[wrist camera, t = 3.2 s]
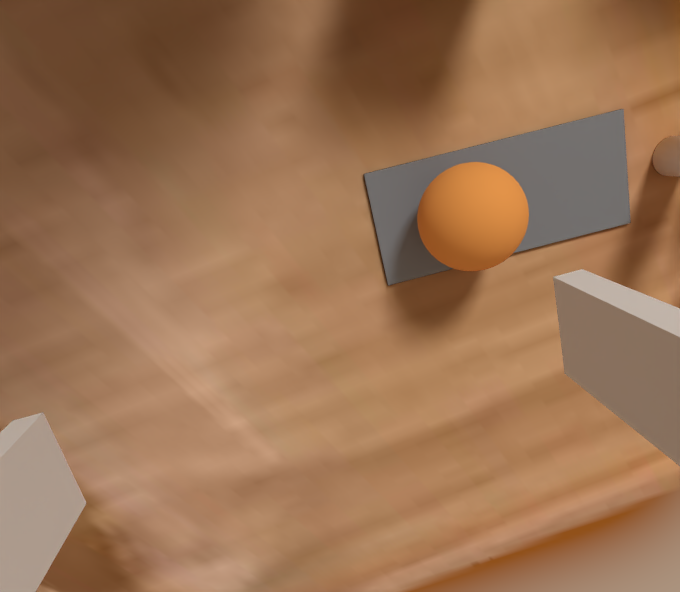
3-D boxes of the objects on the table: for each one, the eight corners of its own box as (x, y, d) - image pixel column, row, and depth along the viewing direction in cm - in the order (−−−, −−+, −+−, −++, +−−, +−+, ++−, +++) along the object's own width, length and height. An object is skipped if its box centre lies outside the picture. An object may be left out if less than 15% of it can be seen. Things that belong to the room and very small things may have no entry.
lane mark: (387, 284, 32) (388, 285, 32) (363, 174, 30) (364, 174, 30) (628, 222, 32) (630, 222, 32) (621, 109, 30) (623, 108, 30)
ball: (416, 269, 32) (444, 295, 26) (397, 174, 30) (424, 180, 24) (507, 245, 32) (555, 266, 26) (494, 149, 30) (543, 150, 24)
